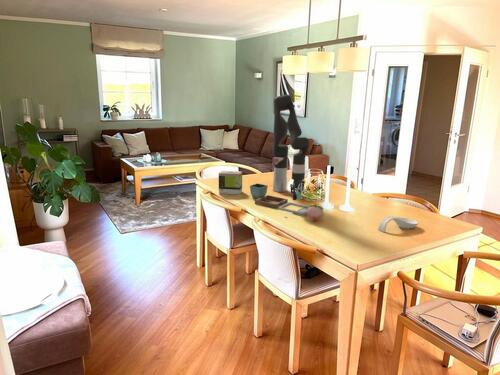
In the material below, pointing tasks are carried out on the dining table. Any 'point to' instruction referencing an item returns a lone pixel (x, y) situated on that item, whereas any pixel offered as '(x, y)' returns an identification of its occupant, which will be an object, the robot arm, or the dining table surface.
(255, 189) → the flower pot
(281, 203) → the walnut box
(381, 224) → the spoon rest
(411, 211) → the dining table surface
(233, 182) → the retro computer monitor
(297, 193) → the ball
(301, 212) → the tray
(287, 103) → the robot arm
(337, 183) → the dining table surface
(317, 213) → the decorative fruit
